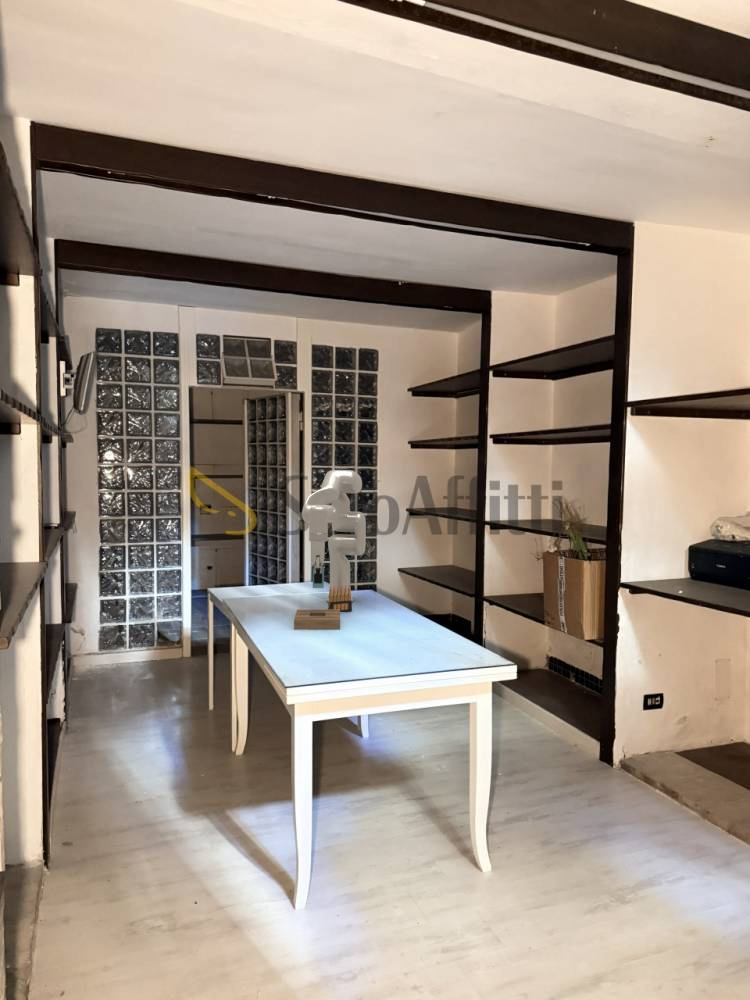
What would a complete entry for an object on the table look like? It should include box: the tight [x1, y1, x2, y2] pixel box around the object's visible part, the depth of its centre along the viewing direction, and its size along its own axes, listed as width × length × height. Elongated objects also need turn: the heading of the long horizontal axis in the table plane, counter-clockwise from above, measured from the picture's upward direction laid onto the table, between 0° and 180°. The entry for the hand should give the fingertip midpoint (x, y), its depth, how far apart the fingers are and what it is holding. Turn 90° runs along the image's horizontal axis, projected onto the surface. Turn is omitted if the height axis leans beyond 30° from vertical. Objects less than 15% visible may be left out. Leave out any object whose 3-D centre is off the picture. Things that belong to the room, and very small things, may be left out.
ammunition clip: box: [327, 584, 353, 613], centre depth 295 cm, size 11×2×12 cm, turn 114°
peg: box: [312, 566, 325, 589], centre depth 273 cm, size 4×4×8 cm
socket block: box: [293, 608, 341, 630], centre depth 273 cm, size 18×18×4 cm
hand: (318, 581), depth 273 cm, fingers closed on peg, 4 cm apart
